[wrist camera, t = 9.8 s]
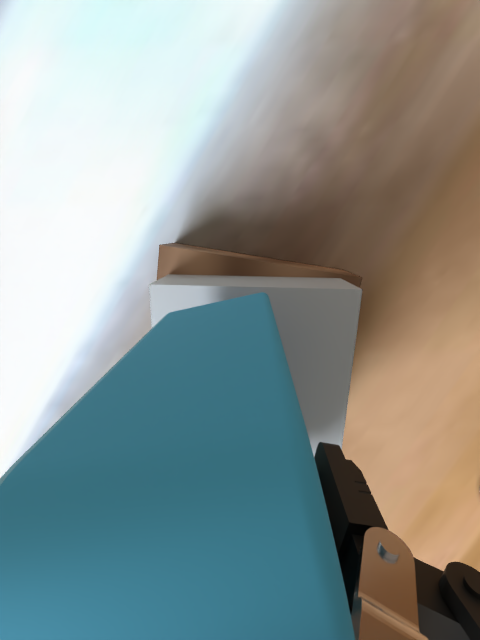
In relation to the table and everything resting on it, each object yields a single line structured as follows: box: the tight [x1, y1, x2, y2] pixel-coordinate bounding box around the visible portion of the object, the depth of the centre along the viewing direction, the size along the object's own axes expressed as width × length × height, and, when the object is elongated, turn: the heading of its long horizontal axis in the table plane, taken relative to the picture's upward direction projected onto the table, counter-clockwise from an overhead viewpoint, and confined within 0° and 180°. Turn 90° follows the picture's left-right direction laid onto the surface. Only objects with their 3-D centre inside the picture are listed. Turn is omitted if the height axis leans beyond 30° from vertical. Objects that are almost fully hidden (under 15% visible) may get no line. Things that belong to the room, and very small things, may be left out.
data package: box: [0, 292, 355, 640], centre depth 10 cm, size 12×4×12 cm, turn 13°
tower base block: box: [157, 243, 362, 288], centre depth 23 cm, size 13×13×4 cm
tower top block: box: [149, 274, 362, 456], centre depth 19 cm, size 11×11×4 cm
